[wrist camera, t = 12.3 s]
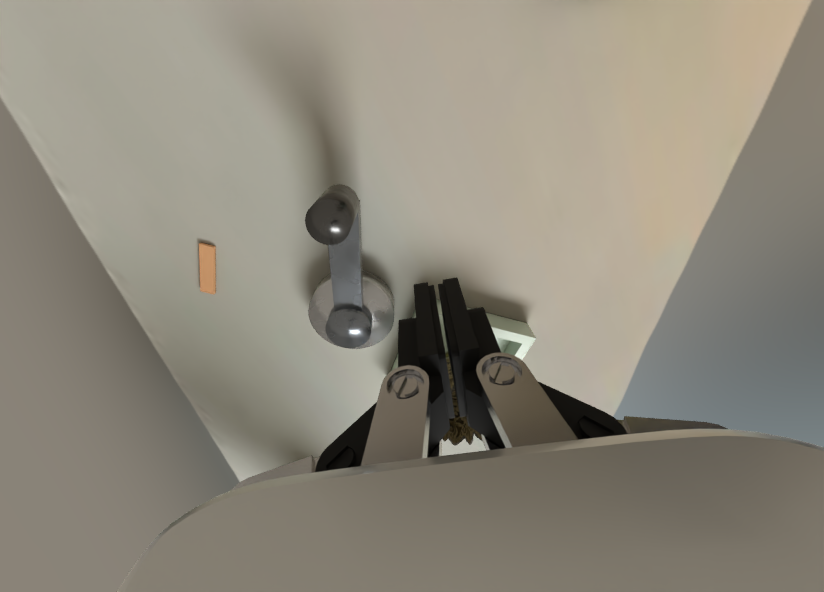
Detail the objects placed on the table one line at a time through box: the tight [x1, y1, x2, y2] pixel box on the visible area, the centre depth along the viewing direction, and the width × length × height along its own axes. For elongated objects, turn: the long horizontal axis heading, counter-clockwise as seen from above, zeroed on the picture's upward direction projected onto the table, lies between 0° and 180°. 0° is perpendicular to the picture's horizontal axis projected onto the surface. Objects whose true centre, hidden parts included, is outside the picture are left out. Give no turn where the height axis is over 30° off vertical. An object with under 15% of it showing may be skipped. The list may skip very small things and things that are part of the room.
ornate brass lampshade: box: [442, 351, 483, 445], centre depth 31 cm, size 8×7×8 cm
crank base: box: [308, 270, 394, 349], centre depth 30 cm, size 8×8×2 cm
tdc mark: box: [199, 243, 216, 294], centre depth 28 cm, size 5×1×1 cm, turn 162°
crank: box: [305, 184, 373, 348], centre depth 23 cm, size 14×4×6 cm, turn 177°
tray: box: [391, 299, 536, 371], centre depth 33 cm, size 12×12×2 cm
